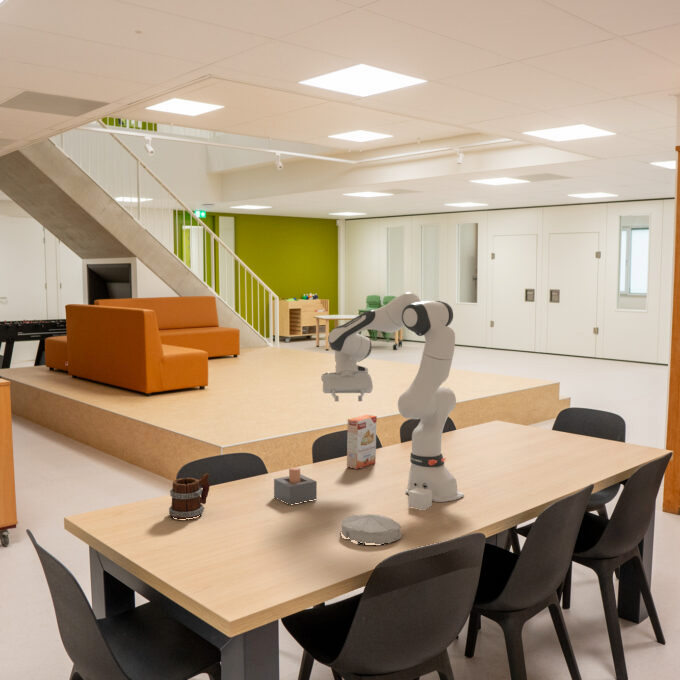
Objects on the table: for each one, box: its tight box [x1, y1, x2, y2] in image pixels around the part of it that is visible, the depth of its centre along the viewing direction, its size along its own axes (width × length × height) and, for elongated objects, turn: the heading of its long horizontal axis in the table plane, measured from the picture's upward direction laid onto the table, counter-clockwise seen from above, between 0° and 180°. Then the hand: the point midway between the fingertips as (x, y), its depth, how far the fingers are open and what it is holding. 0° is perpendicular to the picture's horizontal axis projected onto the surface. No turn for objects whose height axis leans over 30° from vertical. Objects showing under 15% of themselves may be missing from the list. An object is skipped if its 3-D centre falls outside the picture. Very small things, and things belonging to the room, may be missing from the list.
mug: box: [168, 472, 211, 519], centre depth 241 cm, size 12×14×15 cm
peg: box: [288, 467, 301, 484], centre depth 258 cm, size 4×4×10 cm
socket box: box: [273, 473, 318, 506], centre depth 258 cm, size 11×11×7 cm
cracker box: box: [346, 414, 378, 470], centre depth 303 cm, size 14×6×21 cm, turn 143°
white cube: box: [408, 487, 433, 511], centre depth 250 cm, size 6×6×6 cm
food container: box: [340, 513, 403, 544], centre depth 224 cm, size 20×20×7 cm
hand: (348, 400), depth 283 cm, fingers open, 8 cm apart
